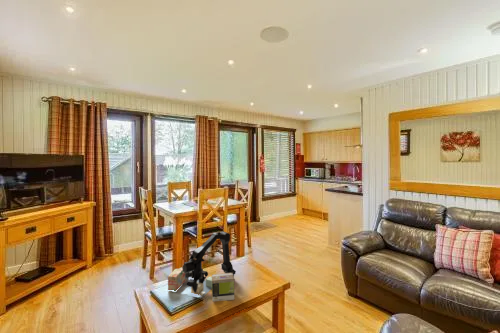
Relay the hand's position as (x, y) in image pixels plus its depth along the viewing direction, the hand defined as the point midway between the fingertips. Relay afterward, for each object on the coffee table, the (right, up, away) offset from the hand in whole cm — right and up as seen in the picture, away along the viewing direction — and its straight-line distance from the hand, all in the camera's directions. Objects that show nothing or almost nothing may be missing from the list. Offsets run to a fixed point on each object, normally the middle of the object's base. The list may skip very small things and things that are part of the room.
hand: (197, 290), depth 174 cm
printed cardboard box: (-17, -3, +12) cm, 21 cm away
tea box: (+18, -4, -3) cm, 19 cm away
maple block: (0, -1, 0) cm, 1 cm away
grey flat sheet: (-1, -3, +8) cm, 8 cm away
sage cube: (+7, -2, +12) cm, 14 cm away
